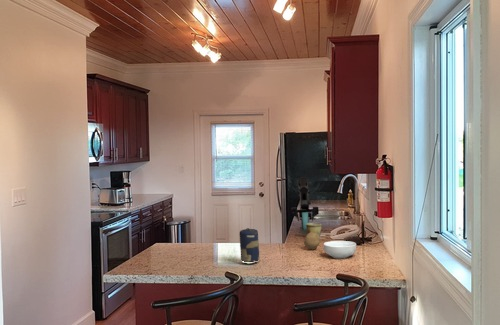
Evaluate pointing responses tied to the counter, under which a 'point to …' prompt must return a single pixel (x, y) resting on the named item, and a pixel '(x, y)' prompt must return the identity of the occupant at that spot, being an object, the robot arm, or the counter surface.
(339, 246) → the cereal bowl
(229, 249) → the counter surface
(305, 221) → the teal post
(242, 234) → the canister
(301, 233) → the walnut base
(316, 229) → the ceramic cup
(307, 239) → the natural sponge
